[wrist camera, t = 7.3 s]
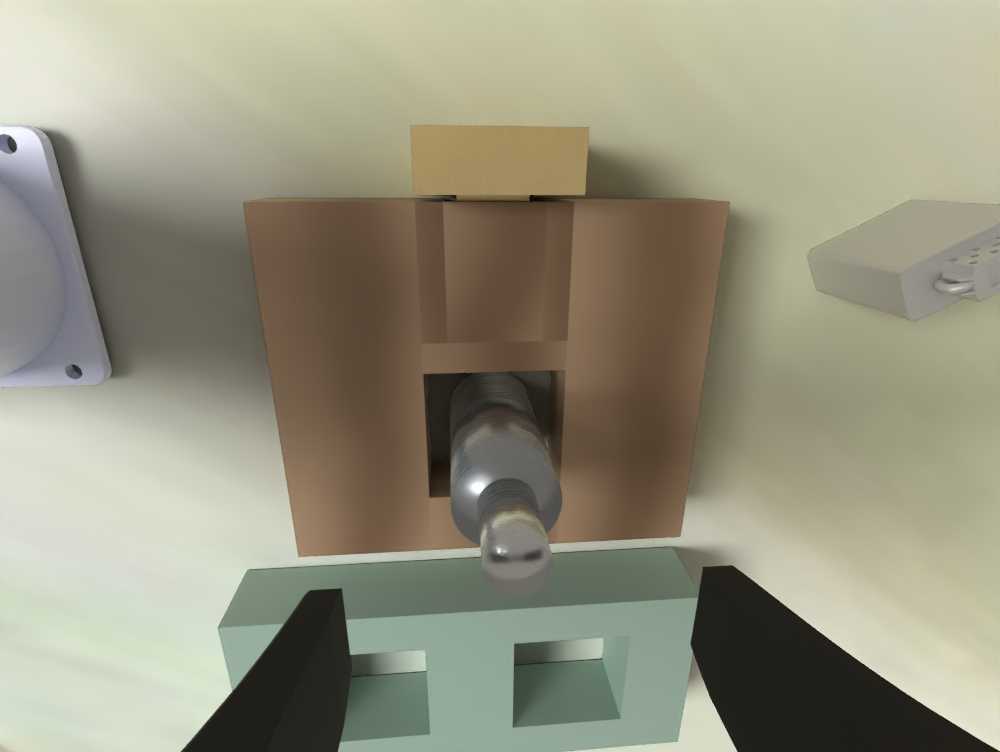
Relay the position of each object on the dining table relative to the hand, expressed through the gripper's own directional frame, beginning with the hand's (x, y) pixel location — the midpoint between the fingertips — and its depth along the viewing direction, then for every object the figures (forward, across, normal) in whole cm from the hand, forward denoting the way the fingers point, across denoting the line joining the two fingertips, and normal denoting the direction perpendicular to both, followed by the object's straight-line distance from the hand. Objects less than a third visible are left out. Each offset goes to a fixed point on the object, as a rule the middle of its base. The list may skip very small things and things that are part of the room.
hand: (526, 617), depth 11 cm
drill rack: (+10, +1, +11) cm, 15 cm away
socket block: (+10, 0, -2) cm, 11 cm away
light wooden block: (+10, 0, -7) cm, 12 cm away
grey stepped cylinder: (+10, 0, 0) cm, 10 cm away
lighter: (+11, -15, -6) cm, 19 cm away
